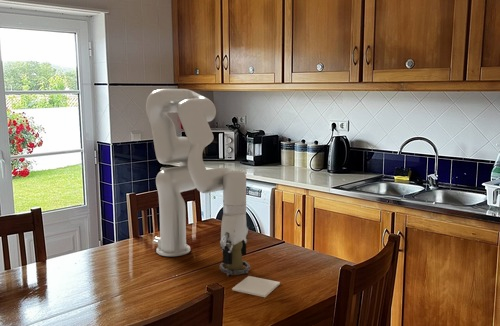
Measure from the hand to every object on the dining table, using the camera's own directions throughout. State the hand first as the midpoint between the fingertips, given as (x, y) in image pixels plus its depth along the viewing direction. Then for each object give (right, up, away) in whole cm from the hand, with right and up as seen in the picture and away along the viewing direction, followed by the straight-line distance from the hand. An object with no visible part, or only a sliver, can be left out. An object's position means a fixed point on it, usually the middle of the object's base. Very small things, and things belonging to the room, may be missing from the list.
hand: (234, 258), depth 159 cm
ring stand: (0, -4, +1) cm, 4 cm away
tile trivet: (+7, -6, -12) cm, 15 cm away
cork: (0, -5, +1) cm, 5 cm away
